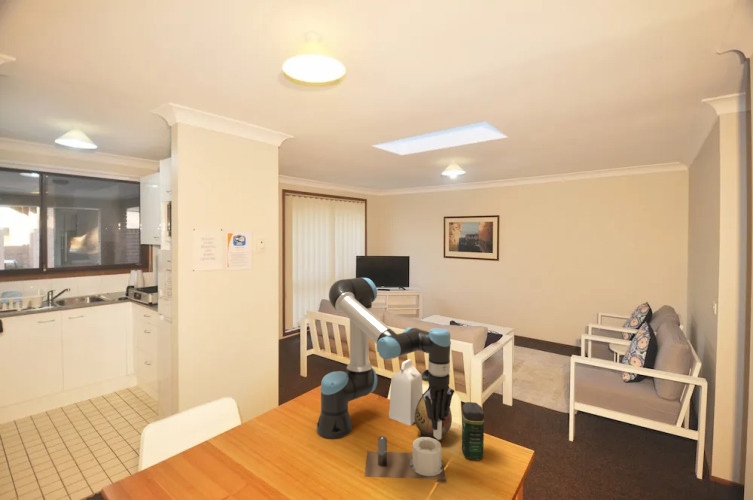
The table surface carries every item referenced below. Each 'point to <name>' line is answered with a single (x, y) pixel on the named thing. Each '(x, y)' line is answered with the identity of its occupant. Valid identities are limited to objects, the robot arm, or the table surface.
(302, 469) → the table surface
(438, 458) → the ring
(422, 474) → the hub
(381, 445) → the stand rod
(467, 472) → the table surface
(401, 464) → the board
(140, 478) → the table surface
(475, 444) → the coffee jar
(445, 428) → the ceramic jug
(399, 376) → the milk
